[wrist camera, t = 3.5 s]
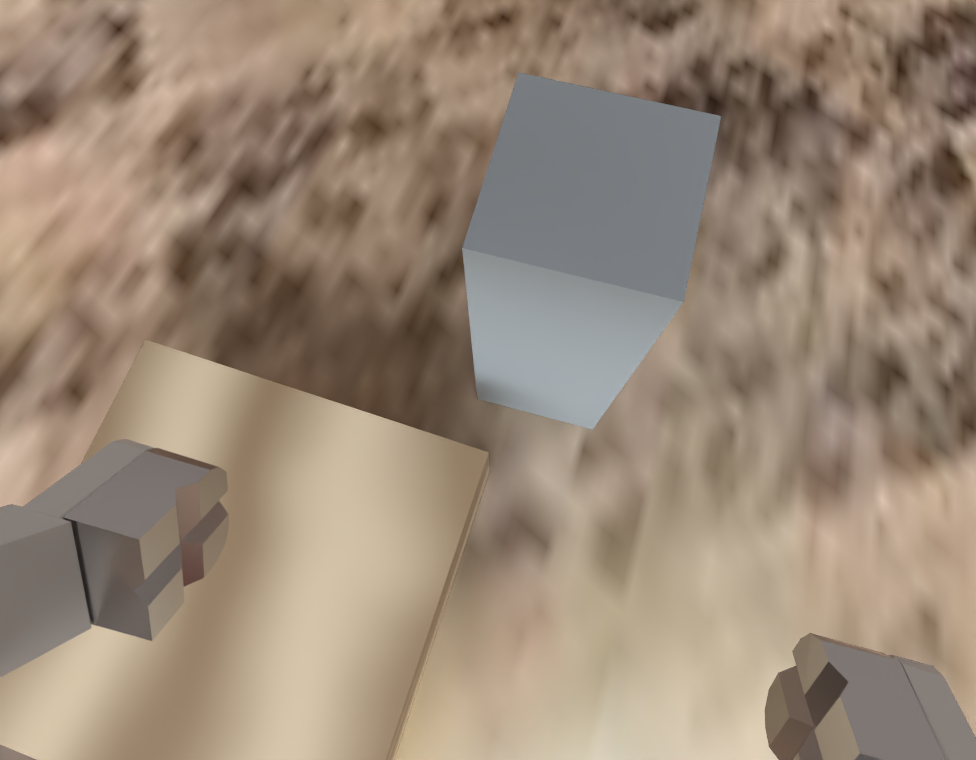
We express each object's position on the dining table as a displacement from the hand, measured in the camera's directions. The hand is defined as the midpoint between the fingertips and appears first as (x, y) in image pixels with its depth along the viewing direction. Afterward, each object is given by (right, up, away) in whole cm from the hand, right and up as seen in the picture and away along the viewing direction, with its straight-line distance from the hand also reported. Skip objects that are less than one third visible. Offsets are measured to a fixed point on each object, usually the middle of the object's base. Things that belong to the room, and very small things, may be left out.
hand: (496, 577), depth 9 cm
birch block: (-8, -5, +16) cm, 19 cm away
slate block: (+3, +4, +18) cm, 19 cm away
